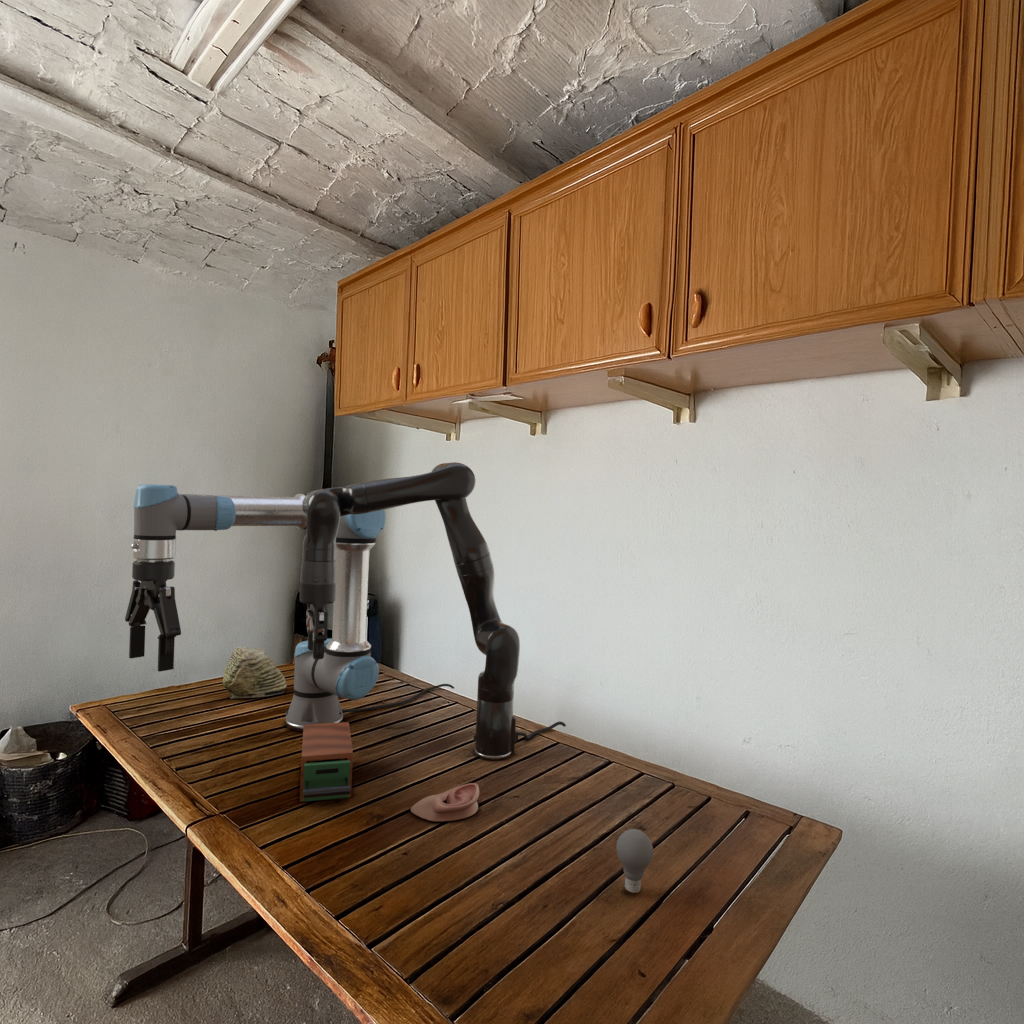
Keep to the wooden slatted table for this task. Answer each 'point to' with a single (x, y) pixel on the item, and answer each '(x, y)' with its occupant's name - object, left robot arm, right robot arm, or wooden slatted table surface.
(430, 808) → the anatomical model
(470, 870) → the wooden slatted table surface
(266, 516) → the left robot arm
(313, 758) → the cabinet
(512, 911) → the wooden slatted table surface
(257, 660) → the fossil
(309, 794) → the drawer
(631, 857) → the light bulb
